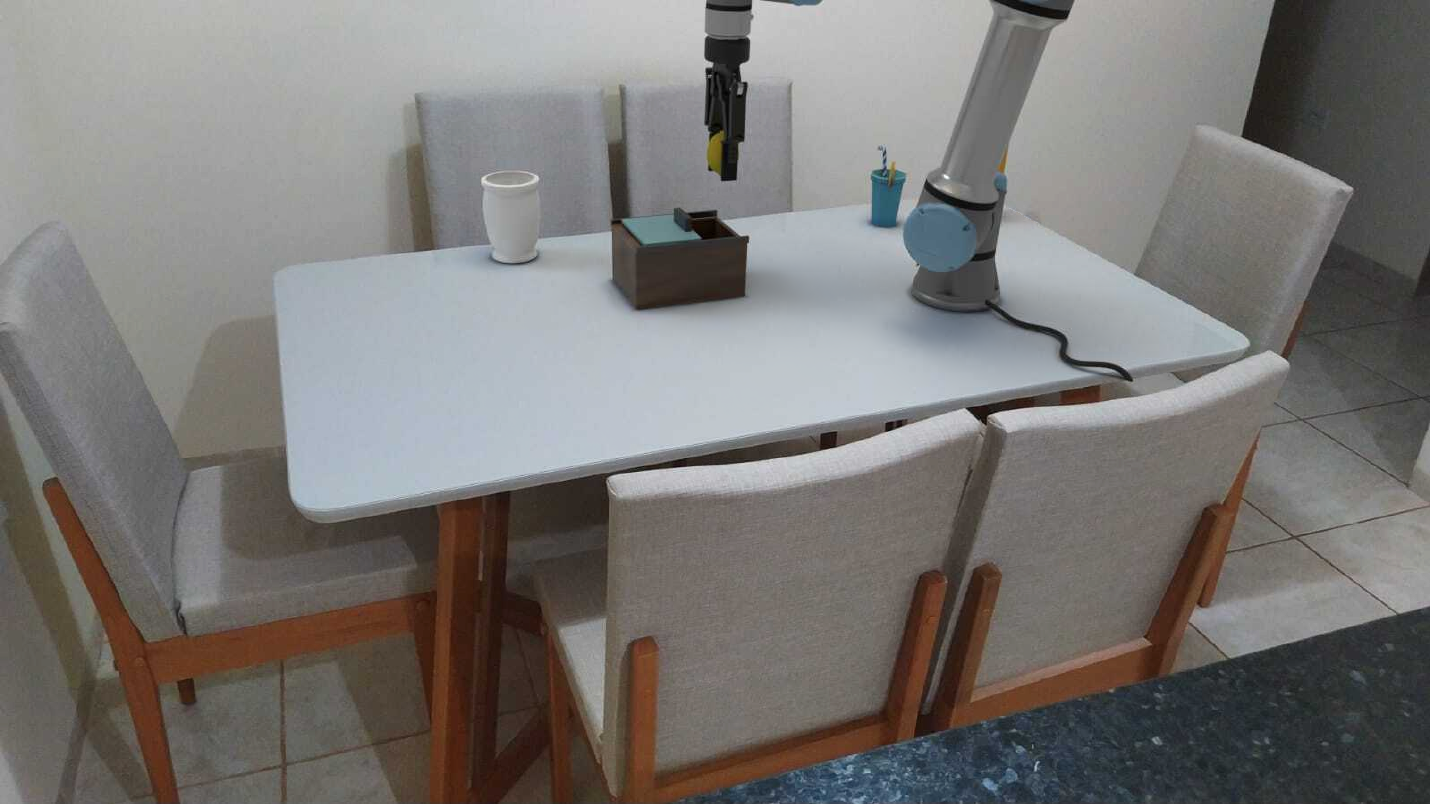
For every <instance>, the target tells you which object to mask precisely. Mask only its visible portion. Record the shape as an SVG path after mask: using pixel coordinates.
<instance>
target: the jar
mask: <svg viewBox="0 0 1430 804" xmlns="http://www.w3.org/2000/svg"><path fill="white" fill-rule="evenodd" d="M480 184H481V187H482V188H483V189H484V191H483V195H482V215H483V221H484V225H485V228H486V234H487V237H488V240H489V243H490V244H491V246H492V249H493V250H492V253H491V257H492V258H493V260H495V261H497V262H500V263H503V264H504V263H506V264H520V263H527V262H529V261H532V260H534V259H535V258H536V257H537V256H538V251H537V249H536V247H535V246H536V244H537V242H538V239H539V236H540V235H539V234H540V223H541V216H542V211H541V210H542V209H541V199H540V195H539V190H538V188H537V187H538V186H539V184H540V177H539V176H538V175H537V174H535V173H532V172H529V171H520V170H504V171H497V172H496V171H495V172H492V173H488V174H486V175H483V176H482V177H481V179H480Z"/></svg>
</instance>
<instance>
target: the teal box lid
mask: <svg viewBox="0 0 1430 804" xmlns="http://www.w3.org/2000/svg"><path fill="white" fill-rule="evenodd" d="M686 212H687V211H685V210H684V209H682V208H681V207H674V208H673V213H672V214H673V215H664V214H661V215H662V216H654V215H650V216H651V217H643V216H640V217H641V218H632V217H629V218H630V219H622V218H621V219H622V220H621V222H622V223H623V224H624V226H625V227H626V228H627V229H628V230H629V231H630V232H631V233H632V234H633V235H634V236H635V237H636V238H637V239H638V240H639V241H640V242H641V243H642V244H643V246H651V245H661V244H670V243H680V242H689V241H699V240H702V238H701V237H700V236H699V235H698V234H696V233H695V232H694V231H693V230H692V218H691V217H690V216H689V215H688V214H687V213H686Z"/></svg>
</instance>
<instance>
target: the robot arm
mask: <svg viewBox="0 0 1430 804" xmlns="http://www.w3.org/2000/svg"><path fill="white" fill-rule="evenodd" d="M761 1H763V2H770V3H771V2H772V3H779V4H789V5H794V6H796V7H801V6H811V7H813V6H817V5H820V4H821V3H822V2H823V0H761ZM988 1H989V3H990V6H991V8H992V11H993V13H992V17H991V20H990V23H989V25H988V29H987V31H986V34H985V37H984V40H983V43H982V46H981V48H980V51H979V54H978V57H977V60H976V62H975V66H974V69H973V70H972V71H973V72H972V75H971V77H970V79H969V80H970V81H969V83H968V86H967V88H966V92H965V94H964V98H963V101H962V103H961V106H960V109H959V112H958V114H957V118H956V120H955V124H954V126H953V129H952V132H951V135H950V138H949V141H948V144H947V147H946V149H945V153H944V156H943V158H942V161H941V164H940V166H939V167H937V168H935V169H933V170H930V171H929V172H928V173H927V175H926V177H925V180H924V184H923V187H922V189H921V192H920V195H919V197H918V201H917V203H916V207H915V208H913V209H912V211H911V212H910V213H909V215H908V216H907V217H906V220H905V223H904V225H903V231H902V237H903V239H902V240H903V244H904V246H905V249H906V250H907V253H908V254H909V256H910V257H911V259H912V260H913V261H914V262H915V263H916V265H915V267H916V268H917V267H919V268H918V270H917V272H916V274H915V276H914V277H913V279H912V283H911V294H912V296H914V298H915V299H917V300H918V301H919V302H921V303H923V304H925V305H927V306H930V307H933V308H935V309H936V308H937V309H941V310H945V311H951V312H963V313H969V312H980V311H981V312H982V311H986V310H989V309H991V310H993V311H994V312H996V313H997V314H998V315H1000V316H1001V317H1003V318H1004V319H1005V320H1006V321H1008V322H1010V323H1011V324H1014V325H1016V326H1019V327H1022V328H1026V329H1030V330H1034V331H1039V332H1044V333H1048V334H1050V335H1053V336H1056V338H1058V339H1060V341H1061V344H1060V348H1059V355H1060V358H1061V359H1062V360H1064V361H1065V362H1066V363H1068V364H1070V365H1073V366H1076V367H1082V368H1100V369H1102V368H1103V369H1109V370H1112V371H1115V372H1117V373H1119V374H1120V375H1121V376H1122V377H1123V379H1124V380H1125V381H1127V382H1129V383H1133V382H1134V379H1133V377H1132V375H1131V374H1130V373H1129V372H1128V371H1127V370H1126V369H1125V368H1123V367H1122V366H1120V365H1119V364H1115V363H1114V362H1113V363H1112V362H1108V361H1098V360H1097V361H1095V360H1080V359H1075V358H1073V357H1071V356H1070V355H1068V354H1067V352H1066V351H1067V347H1068V344H1069V341H1068V338H1067V336H1066V335H1065V334H1064V333H1063V332H1061V331H1060V330H1058V329H1055V328H1052V327H1049V326H1046V325H1040V324H1037V323H1036V324H1035V323H1030V322H1027V321H1023V320H1020V319H1018V318H1015V317H1014V316H1012V315H1010V314H1009V313H1008V312H1006V311H1005V310H1004V309H1002V308H1001V307H999V306H998V305H997V304H998V303H999V300H1000V293H1001V290H1000V289H1001V288H1000V283H999V282H1000V281H999V275H998V270H997V264H996V253H997V247H998V240H999V236H1000V229H1001V222H1002V218H1003V211H1004V205H1005V199H1006V195H1007V194H1008V187H1007V186H1008V178H1007V175H1006V174H1005V173H1004V174H1003V173H1001V172H999V171H998V170H999V167H1000V165H1001V162H1002V160H1003V157H1004V154H1005V152H1006V149H1007V146H1008V144H1010V141H1011V138H1012V137H1013V133H1014V131H1015V129H1016V128H1015V127H1016V125H1017V122H1018V120H1019V117H1020V115H1021V112H1022V109H1023V107H1024V104H1025V102H1026V99H1027V97H1028V93H1029V91H1030V88H1031V86H1032V83H1033V80H1034V77H1035V75H1036V72H1037V70H1038V67H1039V65H1040V62H1041V60H1042V57H1043V54H1044V52H1045V49H1046V46H1047V44H1048V40H1049V38H1050V36H1051V33H1052V30H1053V29H1055V28H1056V27H1058V26H1060V25H1061V24H1063V23H1066V22H1067V21H1068V19H1069V16H1070V14H1071V11H1072V8H1073V5H1074V3H1075V1H1076V0H988ZM752 10H753V0H706V1H705V7H704V33H705V34H707V35H706V36H705V37H704V51H703V57H704V59H705V61H707V62H709V63H712V67H711V66H710V67H705V69H704V70H705V71H704V73H705V96H704V99H705V101H704V118H703V119H704V121H703V124H704V126H705V127H707V131H708V143H709V142H710V140H711V138H712V137H713V136H714V135H716V134H718V133H720V132H721V131H724V140H723V141H720V142H721V144H722V155H721V176H720V181H721V182H734V181H738V163H739V159H738V148H739V144H741V143H745V141H746V140H745V139H746V114H747V113H746V112H747V111H746V109H747V94H748V88H749V83H748V81H742V73H741V65H743V64H745V63H748V62H749V60H750V59H751V58H750V57H751V39H750V38H749V37H748V36H749V35H750V34H751V31H752V21H753V20H754V14H753V13H752ZM1008 147H1009V146H1008ZM707 164H708V163H707ZM707 171H708V172H714V171H713V170H712V169H711V168H710V166H709V164H708V165H707Z"/></svg>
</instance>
